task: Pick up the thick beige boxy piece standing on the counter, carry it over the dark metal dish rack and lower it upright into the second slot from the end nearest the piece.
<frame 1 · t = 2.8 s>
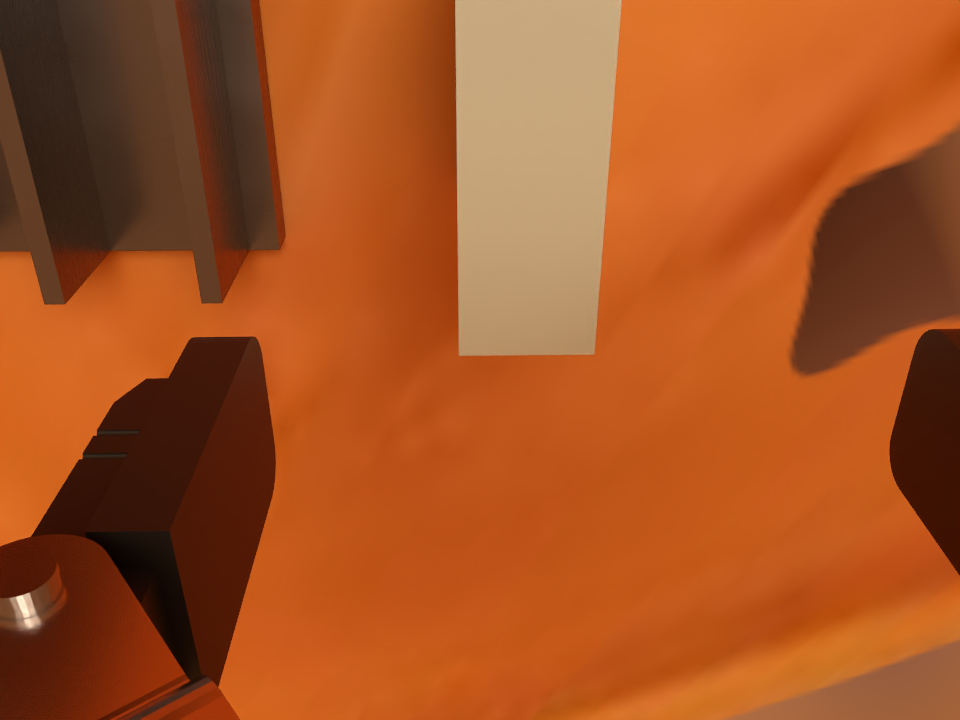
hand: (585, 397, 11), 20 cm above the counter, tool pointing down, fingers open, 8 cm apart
beige boxy piece: (504, 56, 28), on the counter
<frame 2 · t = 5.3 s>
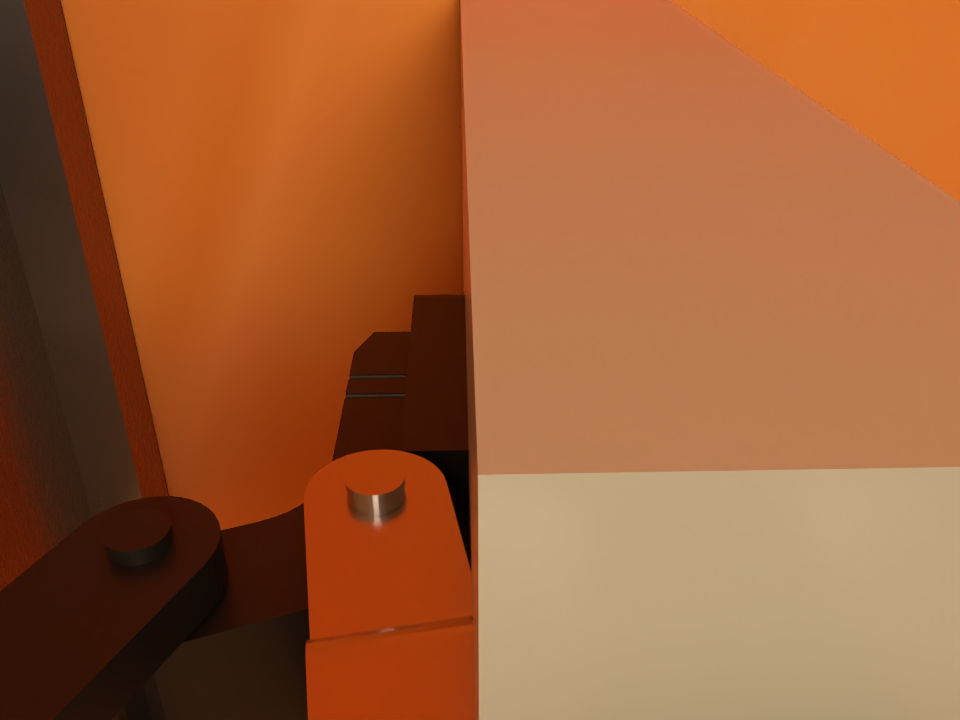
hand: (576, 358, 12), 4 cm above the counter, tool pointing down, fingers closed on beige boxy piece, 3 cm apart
beige boxy piece: (549, 239, 16), on the counter, touching gripper
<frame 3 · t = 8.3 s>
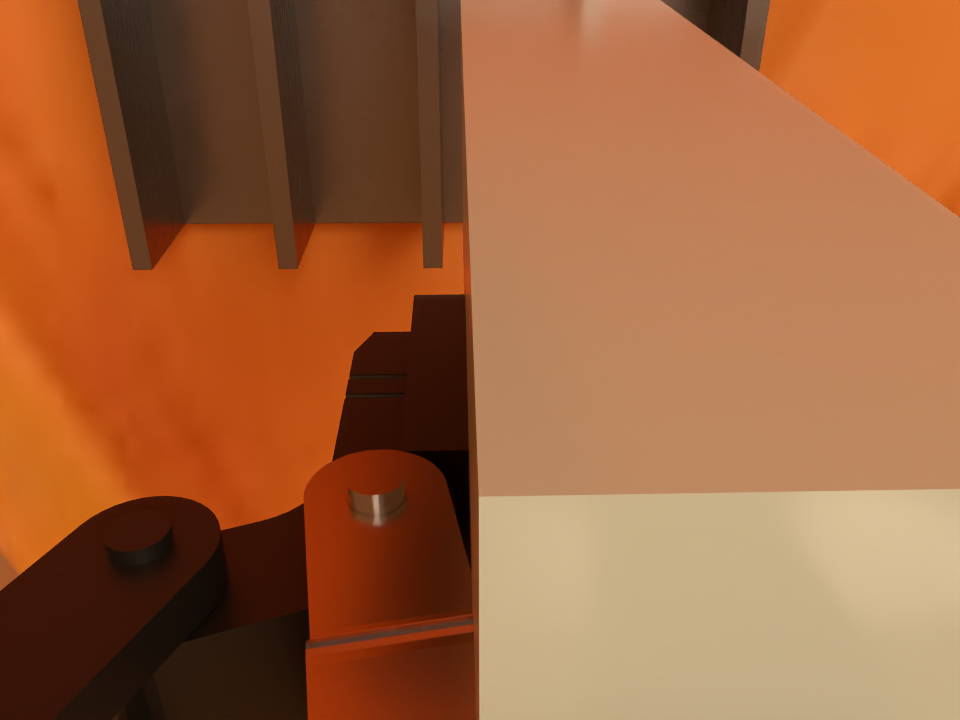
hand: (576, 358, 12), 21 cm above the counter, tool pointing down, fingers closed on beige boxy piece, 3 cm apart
beige boxy piece: (549, 245, 16), point 17 cm above the counter, touching gripper
dish rack: (432, 41, 30), on the counter
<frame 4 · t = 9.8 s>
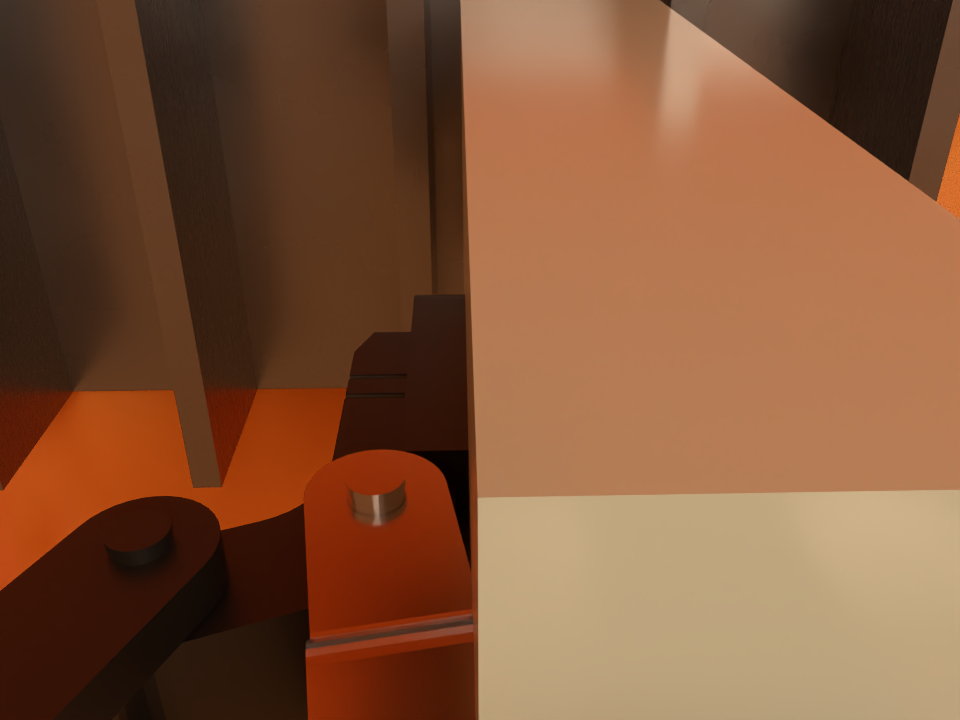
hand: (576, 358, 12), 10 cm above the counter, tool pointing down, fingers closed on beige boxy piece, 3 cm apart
beige boxy piece: (549, 245, 16), point 6 cm above the counter, touching gripper
dish rack: (422, 138, 21), on the counter
when the fingers open (7 cm above the counter, at t = 11.2 s): beige boxy piece drops 1 cm, resting on dish rack.
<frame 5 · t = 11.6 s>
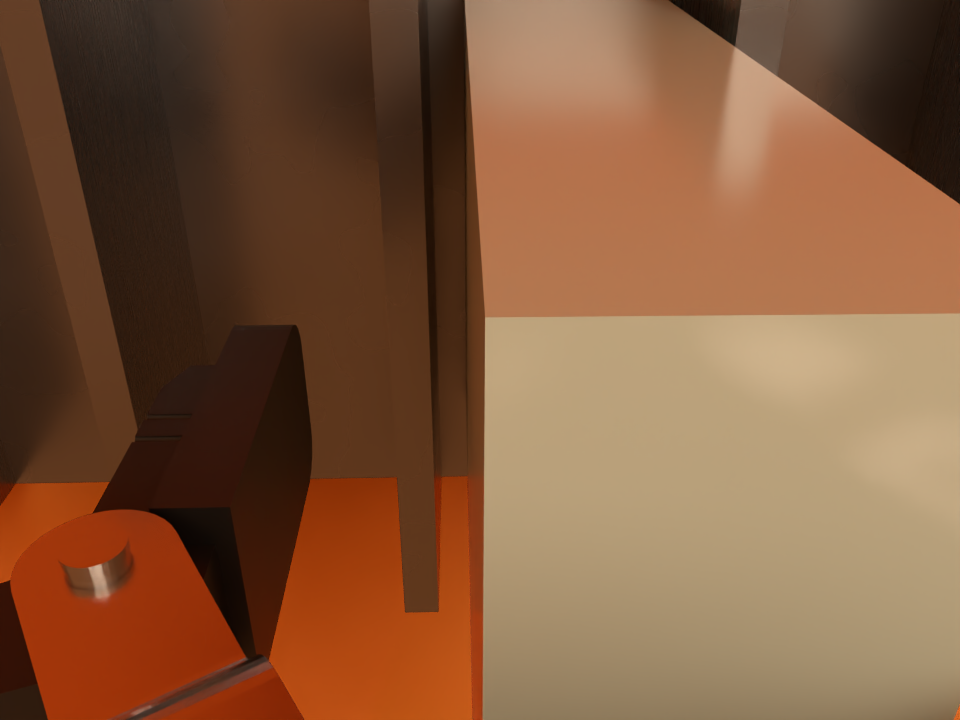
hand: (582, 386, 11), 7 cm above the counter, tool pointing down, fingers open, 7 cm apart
beige boxy piece: (545, 216, 17), point 1 cm above the counter, touching dish rack
dish rack: (419, 194, 18), on the counter
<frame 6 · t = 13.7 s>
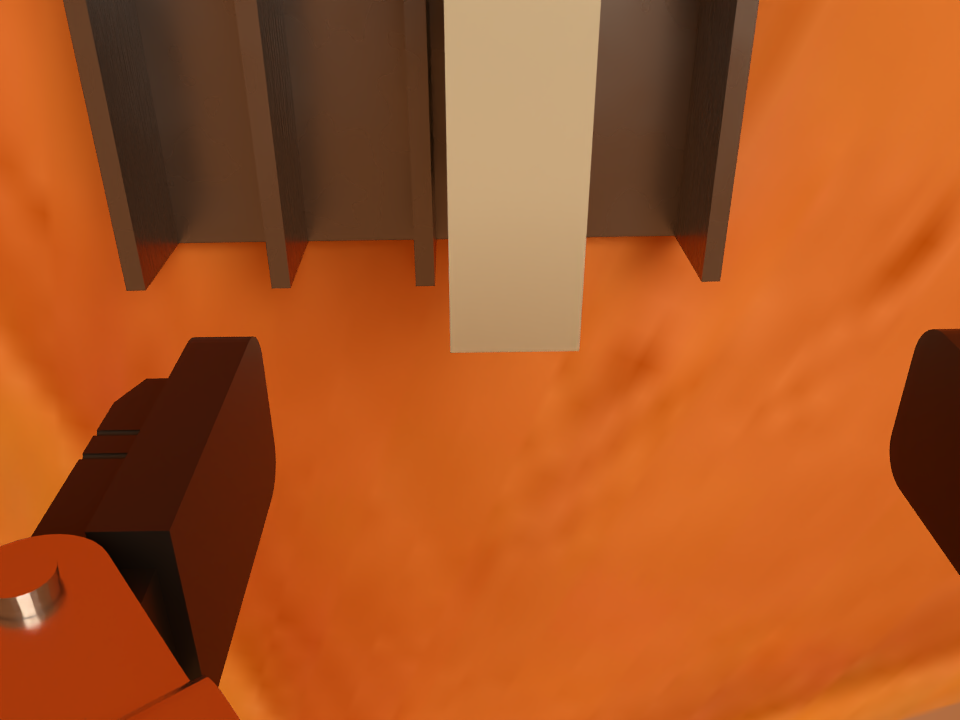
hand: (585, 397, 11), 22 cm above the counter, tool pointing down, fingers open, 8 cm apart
beige boxy piece: (494, 67, 29), point 1 cm above the counter, touching dish rack
dish rack: (423, 59, 30), on the counter
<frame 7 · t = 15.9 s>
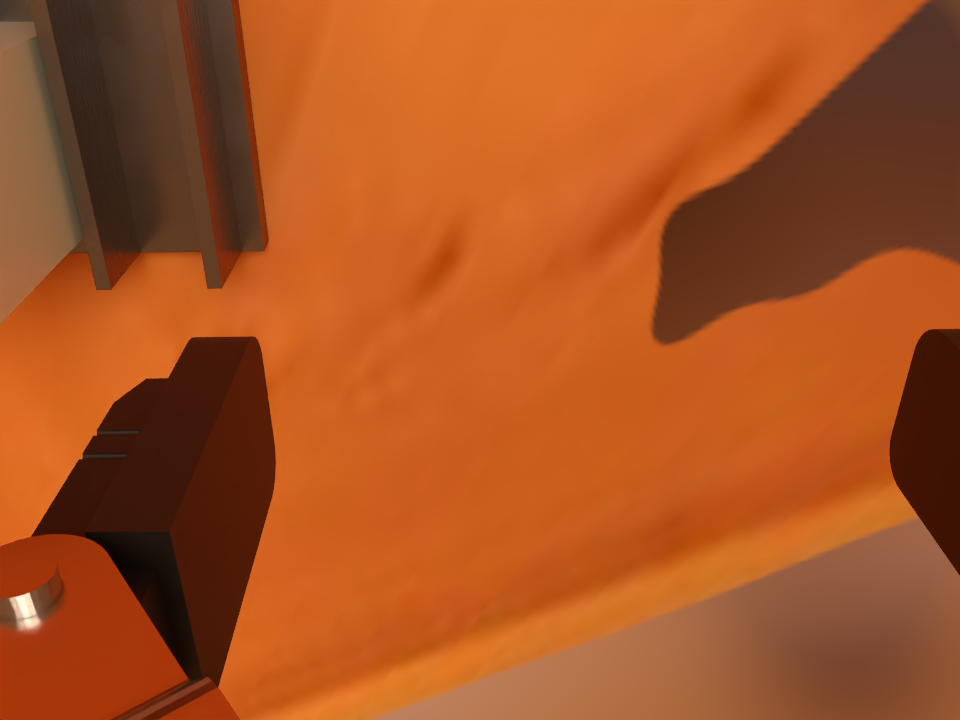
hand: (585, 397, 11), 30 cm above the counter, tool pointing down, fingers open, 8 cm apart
beige boxy piece: (53, 121, 38), point 1 cm above the counter, touching dish rack
dish rack: (8, 114, 39), on the counter
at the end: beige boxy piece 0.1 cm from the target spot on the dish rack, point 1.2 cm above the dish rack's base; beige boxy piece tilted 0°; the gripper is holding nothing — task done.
